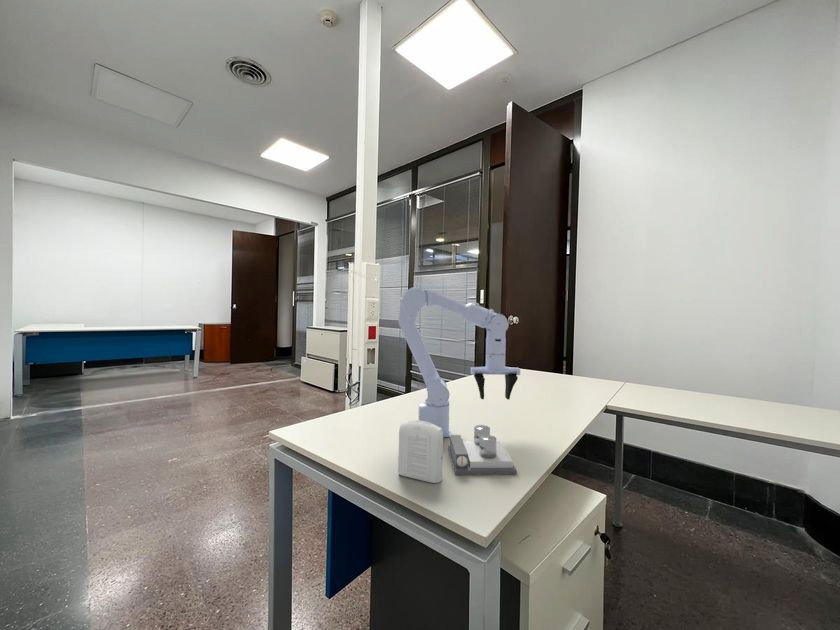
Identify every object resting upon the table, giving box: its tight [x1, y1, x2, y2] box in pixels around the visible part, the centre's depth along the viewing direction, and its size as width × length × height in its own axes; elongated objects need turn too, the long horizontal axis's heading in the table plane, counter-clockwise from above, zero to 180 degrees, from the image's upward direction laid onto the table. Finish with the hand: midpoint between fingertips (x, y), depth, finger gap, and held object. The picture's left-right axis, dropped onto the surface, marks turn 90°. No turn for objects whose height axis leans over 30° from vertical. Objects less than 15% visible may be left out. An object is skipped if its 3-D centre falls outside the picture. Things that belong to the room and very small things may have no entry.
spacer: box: [479, 434, 497, 459], centre depth 78 cm, size 4×4×4 cm
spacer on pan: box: [473, 424, 491, 446], centre depth 85 cm, size 4×4×4 cm
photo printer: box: [397, 419, 444, 484], centre depth 73 cm, size 10×4×12 cm, turn 69°
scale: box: [447, 434, 518, 476], centre depth 81 cm, size 14×13×4 cm
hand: (494, 398), depth 98 cm, fingers open, 7 cm apart
